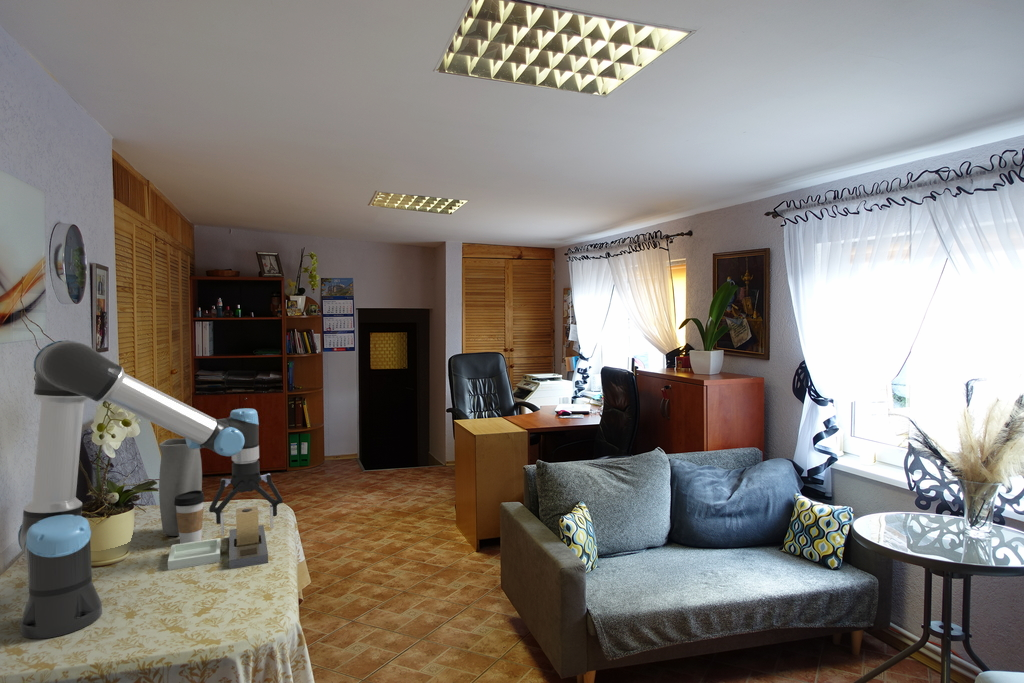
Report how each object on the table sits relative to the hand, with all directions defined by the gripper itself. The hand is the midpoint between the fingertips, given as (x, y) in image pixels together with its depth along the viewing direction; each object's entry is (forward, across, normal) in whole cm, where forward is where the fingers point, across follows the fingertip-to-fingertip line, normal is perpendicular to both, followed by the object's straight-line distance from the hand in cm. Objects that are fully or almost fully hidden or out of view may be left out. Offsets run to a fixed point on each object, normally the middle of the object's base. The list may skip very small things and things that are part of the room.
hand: (247, 530), depth 182 cm
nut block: (+6, 0, 0) cm, 6 cm away
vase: (+6, +19, -24) cm, 31 cm away
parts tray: (+6, +14, 0) cm, 15 cm away
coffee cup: (+6, +16, -15) cm, 23 cm away
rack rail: (+6, 0, 0) cm, 6 cm away
